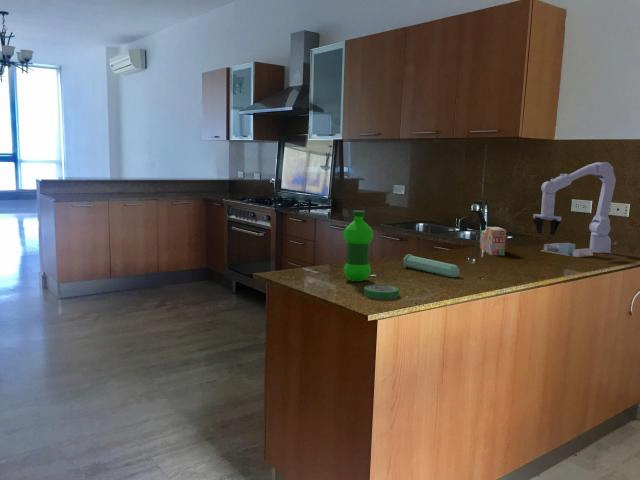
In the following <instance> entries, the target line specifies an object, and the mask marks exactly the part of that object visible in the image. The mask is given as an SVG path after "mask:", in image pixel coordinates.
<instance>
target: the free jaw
mask: <svg viewBox="0 0 640 480" xmlns="http://www.w3.org/2000/svg"><path fill="white" fill-rule="evenodd" d="M559 243H560V242H557V243H556V242H555V243H544V244H542V247H543V250H546V251H553V250H559Z"/></svg>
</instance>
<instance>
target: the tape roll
mask: <svg viewBox="0 0 640 480" xmlns="http://www.w3.org/2000/svg"><path fill="white" fill-rule="evenodd" d="M364 295H365V296H367V297H366V298H368V297H370V298H369V299H372V298H376V299H375V300H394V299H393V298H395V299H398V298H399V297H398V296H399V295H400V289H399V287H397V286H394V285H389V284H369V285H365V286H364V288H363V296H364Z"/></svg>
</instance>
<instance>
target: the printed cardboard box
mask: <svg viewBox="0 0 640 480" xmlns="http://www.w3.org/2000/svg"><path fill="white" fill-rule="evenodd" d="M479 235H480V236H479V237H480V238H479V249H480V250H482V251H483V252H485V253H487V254H488V255H490V256H500V255H501V257H502V256H505V253H506V248H505V247H506V240H507V230H506V229H505V228H502V227H500V226H499V227H498V226H486V227H485V230H480V231H479Z"/></svg>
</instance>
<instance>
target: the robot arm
mask: <svg viewBox="0 0 640 480" xmlns="http://www.w3.org/2000/svg"><path fill="white" fill-rule="evenodd" d="M587 175H593V176H595V177H597V178H598V180H600V181H601V182H602V184H601V190H600V194H599V199H598V204H597V208H596V213H595V215H594V216H593V218H592V220H591V222H590V223H589V226H588V229H589V231H590V232H591V233H590V240H589V249H593V253H599V254H605V253H606V254H611V246H612V240H611V237H610V236H609V235H608V234H609V233H610V232H611V224H610V223H611V220H610V218H609V216H610V215H609V214H610V209H611V205H612V201H613V197H614V191H615V187H616V181H617V178H616V176H615V172H614V167H613V165H612V164H610V162H607V161H601V162H599V161H596V162H593V163H591V164H590V163H589V164H587V165H586V166H583V167H581V168H579V169H578V170H575V171H574V172H572V173H569V174H568V173H560V174H559V176H557V177H555V178H551V179H550V181H548V180H547V181H545V182H543V183H542V184H541V186H540V188H541V189H540V190H541V192H542V197H541V207H540V208H541V211H540V214H538V213H537V214H536V213H533V219H532V220H533V221H532V222H533V223H534V226H535V228H536V233H537V234H539V235H540V234H542V233H543V224H544V221H545V220H549V225H550V236H555V234H556V232H557V229H558V227H559V225H560V224H561V222H562V216H557V215H554V213H555V202H556V193H557V191H559V190H561V189H563V188H566V187H568V186H570V185H571V184H572V182H573V181H575V180H577V179H579V178H582V177H584V176H587Z"/></svg>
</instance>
